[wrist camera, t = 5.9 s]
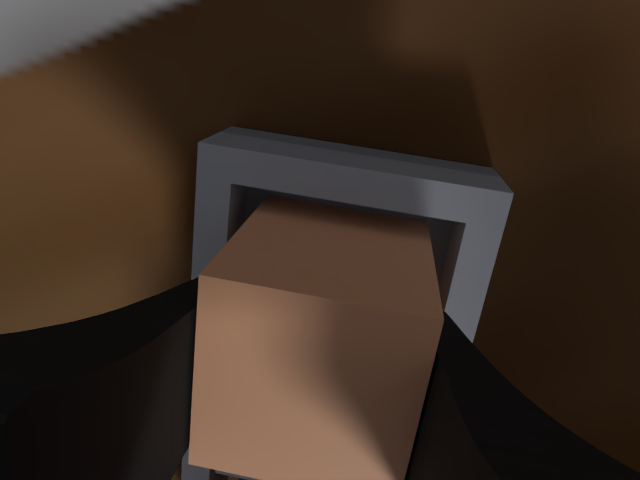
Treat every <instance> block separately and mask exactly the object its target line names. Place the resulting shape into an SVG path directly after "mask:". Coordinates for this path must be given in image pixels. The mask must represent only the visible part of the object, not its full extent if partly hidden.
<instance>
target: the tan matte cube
mask: <svg viewBox="0 0 640 480" xmlns="http://www.w3.org/2000/svg"><path fill="white" fill-rule="evenodd" d="M443 323H444V316H443V310H442V304H441V298H440V292H439V286H438V281H437V275H436V269H435V263H434V257H433V251H432V245H431V239H430V233H429V227H428V222H425V221H420V220H414V219H408V218H402V217H396V216H390V215H384V214H378V213H372V212H366V211H361V210H355V209H349V208H343V207H337V206H331V205H325V204H319V203H313V202H308V201H302V200H296V199H290V198H284V197H278V196H272V195H268V196H267V198H266V199H265V200H264V201H263V202H262V203H261V204H260V206H259V207H258V208H257V209H256V210H255V211H254V212H253V213H252V215H251V216H250V217H249V218H248V219H247V220H246V221H245V223H244V224H243V225H242V226H241V227H240V228H239V229H238V231H237V232H236V233H235V234H234V235H233V236H232V237H231V239H230V240H229V241H228V242H227V243H226V244H225V245H224V247H223V248H222V249H221V250H220V251H219V252H218V253H217V255H216V256H215V257H214V258H213V259H212V260H211V261H210V263H209V264H208V265H207V266H206V267H205V268H204V269H203V271H202V272H201V273H200V274H199V280H198V298H197V316H196V334H195V352H194V370H193V388H192V406H191V424H190V443H189V461H188V464H191V465H195V466H200V467H204V468H209V469H214V470H215V473H218V474H223V475H228V476H232V477H237V478H241V479H246V480H404V479H405V475H406V471H407V467H408V463H409V459H410V455H411V451H412V447H413V443H414V439H415V435H416V431H417V427H418V423H419V419H420V415H421V411H422V407H423V403H424V399H425V395H426V391H427V387H428V383H429V379H430V375H431V371H432V367H433V363H434V359H435V355H436V351H437V347H438V343H439V339H440V335H441V331H442V327H443Z"/></svg>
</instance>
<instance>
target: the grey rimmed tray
mask: <svg viewBox="0 0 640 480" xmlns="http://www.w3.org/2000/svg"><path fill="white" fill-rule="evenodd" d="M268 195H272V196H278V197H284V198H290V199H296V200H302V201H308V202H313V203H319V204H325V205H331V206H337V207H343V208H349V209H355V210H361V211H366V212H372V213H378V214H384V215H390V216H396V217H402V218H408V219H414V220H420V221H425V222H428V227H429V233H430V239H431V245H432V251H433V257H434V263H435V269H436V275H437V281H438V286H439V292H440V298H441V304H442V310H443V311H445V312H446V313H447V314H448V315H449V316H450V318H451V319H452V320H453V321H454V322H455V323H456V325H457V326H458V327H459V328H460V329H461V331H462V332H463V333H464V334H465V335H466V337H467V338H468V339H469V340H470V341H471V342H472V343H473V340H474V337H475V333H476V329H477V326H478V322H479V318H480V315H481V311H482V308H483V304H484V300H485V297H486V293H487V289H488V286H489V282H490V279H491V275H492V271H493V268H494V264H495V261H496V257H497V253H498V250H499V246H500V242H501V239H502V235H503V232H504V228H505V224H506V221H507V217H508V213H509V210H510V206H511V203H512V199H513V195H514V193H513V192H512V191H511V189H510V188H509V187H508V186H507V184H506V183H505V182H504V180H503V179H502V178H501V177H500V175H499V174H498V173H497V172H496V170H495V169H494V168H491V167H484V166H478V165H472V164H466V163H459V162H453V161H447V160H440V159H434V158H428V157H422V156H415V155H409V154H403V153H397V152H390V151H384V150H378V149H372V148H365V147H359V146H353V145H346V144H340V143H334V142H328V141H321V140H315V139H309V138H303V137H296V136H290V135H284V134H278V133H271V132H265V131H259V130H252V129H246V128H240V127H234V126H231V127H229V128H227V129H225V130H223V131H220V132H218V133H216V134H214V135H212V136H210V137H208V138H206V139H204V140H201V141H199V142H198V152H197V172H196V193H195V213H194V233H193V253H192V273H191V280H193V279H195V278H197V277H199V274H200V273H201V272H202V271H203V269H204V268H205V267H206V266H207V265H208V264H209V263H210V261H211V260H212V259H213V258H214V257H215V256H216V255H217V253H218V252H219V251H220V250H221V249H222V248H223V247H224V245H225V244H226V243H227V242H228V241H229V240H230V239H231V237H232V236H233V235H234V234H235V233H236V232H237V231H238V229H239V228H240V227H241V226H242V225H243V224H244V223H245V221H246V220H247V219H248V218H249V217H250V216H251V215H252V213H253V212H254V211H255V210H256V209H257V208H258V207H259V206H260V204H261V203H262V202H263V201H264V200H265V199H266V198H267V196H268ZM188 461H189V448H188V449H187V451H186V453H185V454H184V456H183V458H182V473H181V480H246V479H241V478H237V477H232V476H228V475H223V474H218V473H215V470H214V469H209V468H204V467H200V466H195V465H191V464H188Z"/></svg>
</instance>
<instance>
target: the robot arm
mask: <svg viewBox="0 0 640 480" xmlns="http://www.w3.org/2000/svg"><path fill="white" fill-rule="evenodd" d="M198 280H199V277H197V278H195V279H193V280H190V281H188V282H186V283H183V284H181V285H179V286H176V287H174V288H172V289H169V290H167V291H165V292H162V293H160V294H158V295H155V296H152V297H150V298H147V299H144V300H142V301H139V302H136V303H133V304H131V305H128V306H125V307H123V308H120V309H117V310H114V311H110V312H107V313H104V314H100V315H97V316H93V317H89V318H85V319H82V320H78V321H74V322H69V323H64V324H59V325H54V326H48V327H43V328H38V329H33V330H27V331H22V332H15V333H7V334H0V480H171V478H172V476H173V475H174V473H175V471H176V469H177V467H178V465H179V463H180V461H181V460H182V458H183V456H184V454H185V453H186V451H187V449H188V448H189V443H190V424H191V406H192V388H193V370H194V352H195V334H196V316H197V298H198ZM443 316H444V323H443V327H442V331H441V335H440V339H439V343H438V347H437V351H436V355H435V359H434V363H433V367H432V371H431V375H430V379H429V383H428V387H427V391H426V395H425V399H424V403H423V407H422V411H421V415H420V419H419V423H418V427H417V431H416V435H415V439H414V443H413V447H412V451H411V455H410V459H409V463H408V467H407V471H406V475H405V479H404V480H640V473H638V472H636V471H634V470H633V469H631V468H629V467H627V466H625V465H624V464H622V463H620V462H618V461H617V460H615V459H613V458H612V457H610V456H608V455H607V454H605V453H603V452H602V451H600V450H598V449H597V448H595V447H594V446H592V445H591V444H589V443H588V442H586V441H585V440H583V439H582V438H580V437H579V436H577V435H576V434H574V433H573V432H571V431H570V430H568V429H567V428H565V427H564V426H563V425H561V424H560V423H558V422H557V421H556V420H554V419H553V418H552V417H550V416H549V415H548V414H546V413H545V412H544V411H543V410H542V409H540V408H539V407H538V406H537V405H535V404H534V403H533V402H532V401H530V400H529V399H528V398H527V397H525V396H524V395H523V394H522V393H521V392H520V391H519V390H517V389H516V388H515V387H514V386H513V385H512V384H511V383H510V382H509V381H508V380H507V379H506V378H505V377H504V376H503V375H502V374H501V373H500V372H499V371H498V370H497V369H496V368H495V367H494V366H493V365H492V364H491V363H490V362H489V361H488V360H487V359H486V358H485V357H484V356H483V355H482V354H481V353H480V351H479V350H478V349H477V348H476V347H475V346H474V345H473V343H472V342H471V341H470V340H469V339H468V338H467V337H466V335H465V334H464V333H463V332H462V331H461V329H460V328H459V327H458V326H457V325H456V323H455V322H454V321H453V320H452V319H451V318H450V316H449V315H448V314H447V313H446V312H445V311H443Z"/></svg>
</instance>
